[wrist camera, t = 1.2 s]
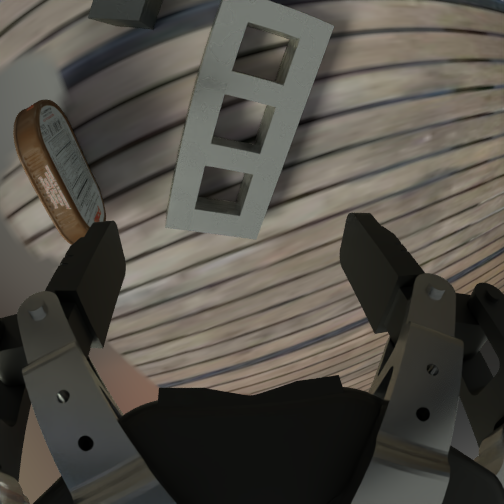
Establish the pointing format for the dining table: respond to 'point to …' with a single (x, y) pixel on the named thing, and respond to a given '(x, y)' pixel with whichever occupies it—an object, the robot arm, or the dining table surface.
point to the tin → (58, 169)
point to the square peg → (126, 12)
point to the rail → (271, 128)
